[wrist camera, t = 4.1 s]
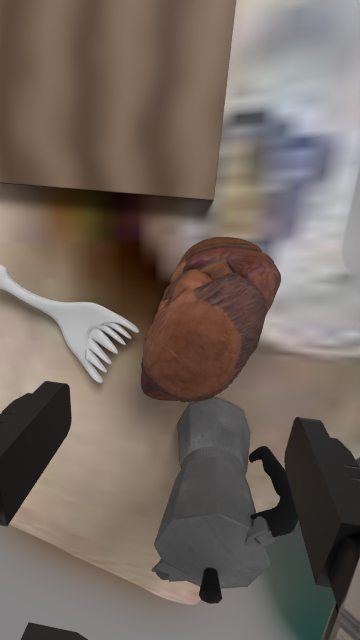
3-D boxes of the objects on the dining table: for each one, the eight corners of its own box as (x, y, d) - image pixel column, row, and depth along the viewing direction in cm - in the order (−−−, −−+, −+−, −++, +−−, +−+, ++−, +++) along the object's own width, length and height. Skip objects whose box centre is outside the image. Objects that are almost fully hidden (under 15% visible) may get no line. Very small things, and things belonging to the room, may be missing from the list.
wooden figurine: (206, 214, 29) (189, 220, 12) (261, 246, 29) (321, 295, 12) (154, 312, 33) (88, 418, 16) (203, 339, 33) (188, 468, 17)
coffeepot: (198, 471, 40) (185, 655, 24) (152, 427, 39) (102, 592, 22) (294, 417, 36) (362, 601, 19) (246, 363, 34) (274, 514, 17)
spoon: (109, 372, 37) (98, 388, 34) (-126, 218, 33) (-162, 219, 30) (147, 320, 34) (139, 331, 30) (-108, 142, 30) (-147, 135, 27)
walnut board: (238, -25, 22) (240, -47, 20) (213, 200, 28) (213, 199, 26) (-29, -30, 24) (-49, -50, 22) (-1, 182, 30) (-15, 180, 28)
